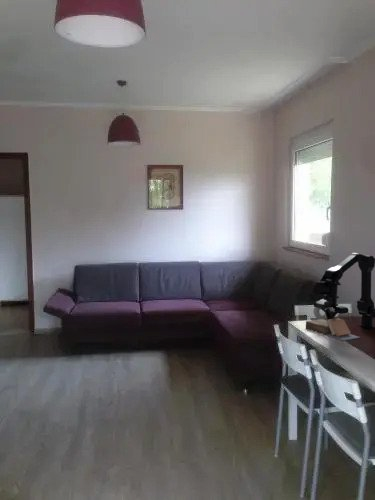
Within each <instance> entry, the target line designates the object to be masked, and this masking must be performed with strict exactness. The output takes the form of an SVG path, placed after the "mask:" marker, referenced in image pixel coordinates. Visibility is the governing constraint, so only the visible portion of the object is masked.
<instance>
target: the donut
mask: <svg viewBox="0 0 375 500" xmlns="http://www.w3.org/2000/svg"><path fill="white" fill-rule="evenodd" d="M312 311H313V312H312V313H313V315H314V317H315V318H316V320H318V319H324V320H327V317H326V314H325V313H324V314H321V313H320V311H321V309H320V308H319V309H318V308H317V307H314V306H313V310H312Z"/></svg>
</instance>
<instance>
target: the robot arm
mask: <svg viewBox="0 0 375 500" xmlns="http://www.w3.org/2000/svg"><path fill="white" fill-rule="evenodd" d="M357 263H358V266H357V267H358V269H359V270H360V272H361V273H360V274H361V275H360V276H361V279H360V280H361V284H360V285H361V286H360V293H361V295H360V299H359V300H357V301H356V308H357V311H358V315H359V316H360V315H361V321H360V324H359V325H358V326H359V327H360V328H361V327H362V328H365V329H368V330H369V329H374V328H375V302H374V301H373V299H372V271H373V270H374V269H375V257H374V256H373V255H367V254H361V253H359V252H352V253H350V255H348V256H347V257H346V258H345V259H344V260H342V261H341V262H340V263H338V264H336V266H332V267H329V268H328V269H326V270H325V271H324V274H323V276H322V277H321V279H320V281H316V283H315V284H314V285H313V287H312V292H313V294H314V295H316V296H323V298H322V299H320V300H316V301H314V303H313V308H314V307H317V308H318V309H319V308H320V310H321V311H322V312H323V313H324V314H326V317H327V319H326V320H328V319H335V318H336V316H337V314H340V315H342V314H343V315H344V314H349V308H348V307H346V306H341V305H340V306H339V303H338V299H339V295H338V286H342V284H341V282H340V280H341V279H342V277H343V276H344V273H345V272H346V271H348V270H349V269H350V268H352V266H354V265H355V264H357Z"/></svg>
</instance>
